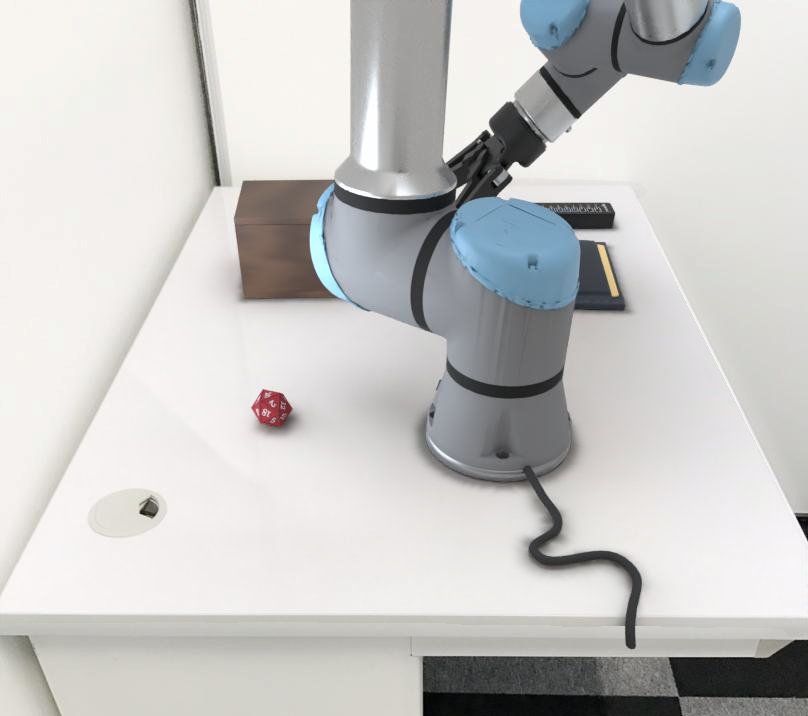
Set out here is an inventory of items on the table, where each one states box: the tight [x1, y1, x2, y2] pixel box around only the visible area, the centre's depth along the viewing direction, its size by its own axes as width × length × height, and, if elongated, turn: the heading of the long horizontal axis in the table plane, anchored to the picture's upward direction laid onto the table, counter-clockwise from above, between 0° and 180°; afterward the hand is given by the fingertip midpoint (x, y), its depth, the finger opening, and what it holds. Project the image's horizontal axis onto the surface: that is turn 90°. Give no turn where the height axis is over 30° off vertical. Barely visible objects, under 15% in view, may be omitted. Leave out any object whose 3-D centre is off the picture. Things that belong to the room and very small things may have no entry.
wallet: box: [574, 239, 626, 311], centre depth 118 cm, size 20×2×15 cm
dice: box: [250, 388, 293, 428], centre depth 90 cm, size 4×4×4 cm
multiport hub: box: [533, 202, 616, 229], centre depth 131 cm, size 4×14×2 cm, turn 92°
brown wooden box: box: [233, 179, 338, 300], centre depth 114 cm, size 15×13×11 cm
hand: (405, 244), depth 115 cm, fingers closed on drawer, 12 cm apart
